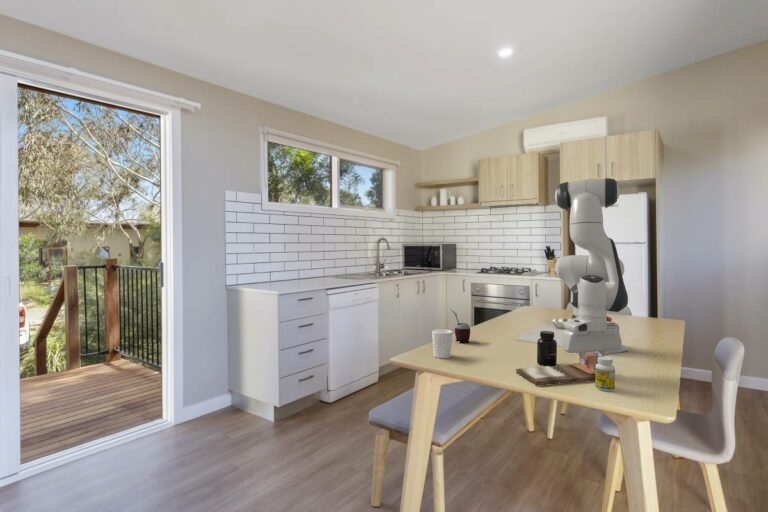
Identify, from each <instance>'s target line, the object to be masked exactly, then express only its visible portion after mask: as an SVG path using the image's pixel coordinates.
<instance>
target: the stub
mask: <svg viewBox="0 0 768 512" xmlns="http://www.w3.org/2000/svg"><path fill="white" fill-rule="evenodd" d="M584 356H585V358H586V359H587V360H588V365H583V364H581V358H580V357H579V362H575V363H571V365H573V366H575V367H577V368H579V369H581V370H583V371H585V372H587V373H590V374H595V366H596V364H598V363H599V362H598V357H601V356H598V354H595V353H591V352H588V353H586V355H584Z"/></svg>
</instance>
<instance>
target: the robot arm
mask: <svg viewBox="0 0 768 512" xmlns="http://www.w3.org/2000/svg"><path fill="white" fill-rule="evenodd" d="M620 194H621V192H620V186H619V184H618V182H617V180H616V179H615V178H610V177H605V178H585V179H581V180H579V179H578V180H573V181H569V182H568V181H566V182H565V181H564V182H562V183H559V185H557V188H556V190H555V193H554V200H555V202H556V205H557V207H559V208H560V209H562V210H565V211H566V212H568V211H569V210H570V213H569V237H570V240H571V241H572V242H573V243H574V244H575V246H577V247H579V248H581V249H583V250H586V251H587V252H588V254H589V255H588V254H587V255H585V254H584V255H582V254H581V255H578V254H577V255H576V254H571V255H565V256H561V257H559V258H558V259H557V260H556V262H555V265H554V271H555V274H556V276H557V277H558V279H560V280H562V281H563V282H564V284H566V286H567V287H568V289H569V293H570V295H569V296H570V297H569V303H570V305H571V306H572V307H573V311H572V312H573V313H572V315H571V316H572V317H571V319H570V320H567V321H565V322H564V323H563V326H564V328H565V330H564V331H563V334H562V343H561V344H562V345H561V347H562V349H563V351H564V352H566V353H568V354H576V353H577V354H578V356H579V359H580V358H581V364H583V365H588V360H587V359H586V358H585V356H584V355H586V353H588V352H591V353H593V354H596V355H598V356H601V357H606V356H605V355H610V354H616V353H623V352H628V351H629V348H628V347H627V346H626V345H623V344H622V338H621V333H620V325H619V324H617V323H616V322H613V317H611V316H608V315H607V312H613V313H620V312H621V311H623V310H624V309H626V307H627V306H628V304H629V295H628V292H627V289H626V285H625V282H624V278H623V277H624V275H625V274H624V273H625V264H624V263H623V261H622V260H621V258H620V257H619V254H618V249H617V247H616V244H615V241H614V239H612V238H611V237H609V236H608V235H607V233H606V231H605V229H604V216H603V215H604V214H603V208H602V207H605V209H608V207H612V206H614V205H615V204H616V203H618V199H619V197H620ZM562 281H561V282H562Z"/></svg>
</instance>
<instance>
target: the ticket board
mask: <svg viewBox="0 0 768 512" xmlns="http://www.w3.org/2000/svg"><path fill="white" fill-rule="evenodd" d="M515 371H516V372H515V373H516V374H517V375H518V374H519V375H518V376H520V377H521V376H522V378H523V379H525V380H526V381H527V382H529V383H531V384H532V383H533V384H532V385H534V384H535V385H534V386H536V387H538V386H537V385H544V386H548V385H547V384H555V385H560V384H559V383H567V384H573V383H572V382H579V383H587V381H590V382H595V374H590V373H587V372H585V371H583V370H581V369H579V368H577V367H575V366H573V365H572V364H562V365H561V364H560V365H555V366H535V367H534V366H533V367H521V368H516V369H515Z"/></svg>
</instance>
